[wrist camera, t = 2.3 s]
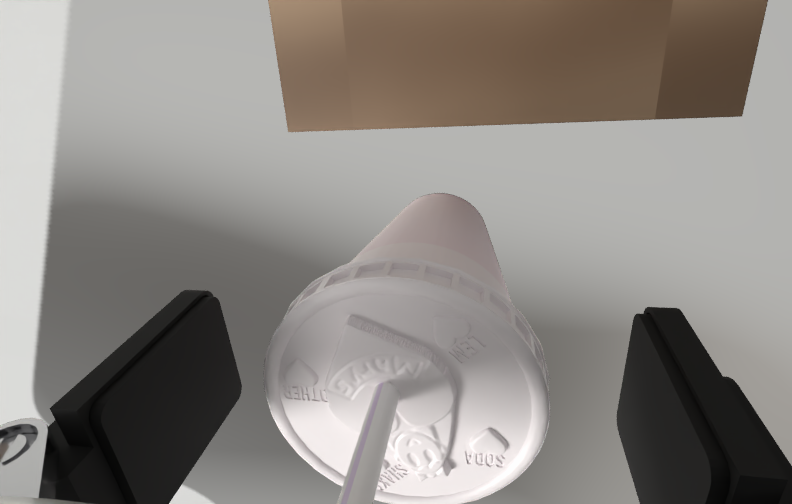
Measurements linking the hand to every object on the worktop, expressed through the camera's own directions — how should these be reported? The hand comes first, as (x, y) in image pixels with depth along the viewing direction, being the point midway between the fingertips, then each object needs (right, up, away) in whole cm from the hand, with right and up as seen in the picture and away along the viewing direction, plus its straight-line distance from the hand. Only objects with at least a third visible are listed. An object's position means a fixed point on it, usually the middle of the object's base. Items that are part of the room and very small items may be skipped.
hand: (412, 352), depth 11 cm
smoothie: (+1, +3, +8) cm, 9 cm away
